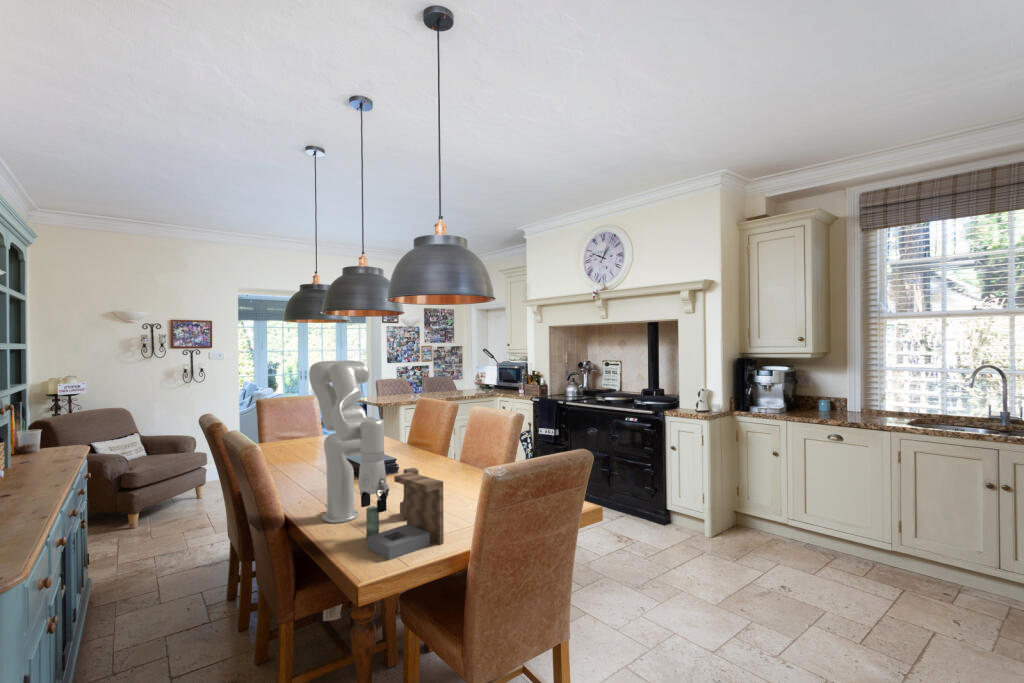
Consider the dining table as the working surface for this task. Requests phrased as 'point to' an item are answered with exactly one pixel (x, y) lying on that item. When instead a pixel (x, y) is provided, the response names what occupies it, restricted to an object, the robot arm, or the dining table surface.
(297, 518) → the dining table surface
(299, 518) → the dining table surface
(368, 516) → the peg
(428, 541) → the socket block
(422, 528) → the brown notched wall
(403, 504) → the wooden block
